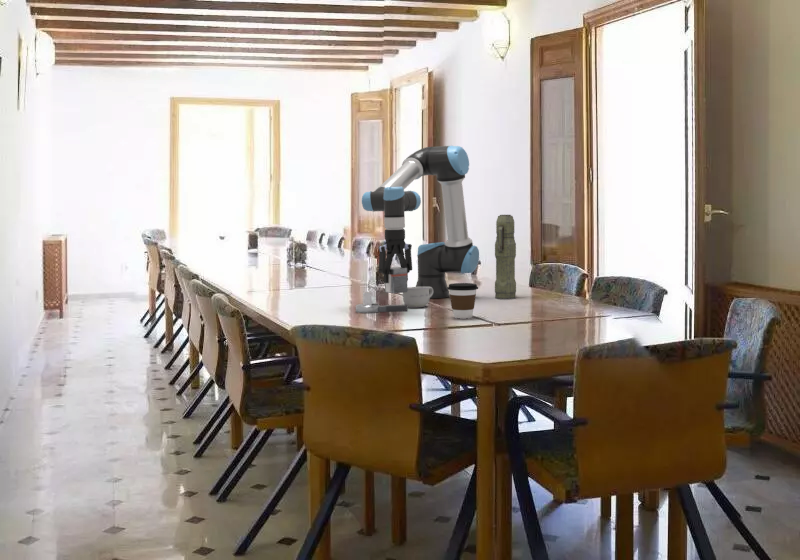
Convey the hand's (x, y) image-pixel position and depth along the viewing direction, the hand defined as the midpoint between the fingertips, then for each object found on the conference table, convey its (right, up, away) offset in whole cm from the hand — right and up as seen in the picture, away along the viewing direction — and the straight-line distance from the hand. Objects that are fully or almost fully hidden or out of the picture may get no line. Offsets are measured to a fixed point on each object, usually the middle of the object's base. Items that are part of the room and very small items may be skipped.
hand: (396, 290), depth 350 cm
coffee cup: (+24, -10, -11) cm, 28 cm away
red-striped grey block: (0, 0, 0) cm, 1 cm away
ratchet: (-6, -8, +9) cm, 13 cm away
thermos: (+46, -4, +47) cm, 66 cm away
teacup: (+9, -7, +21) cm, 24 cm away
